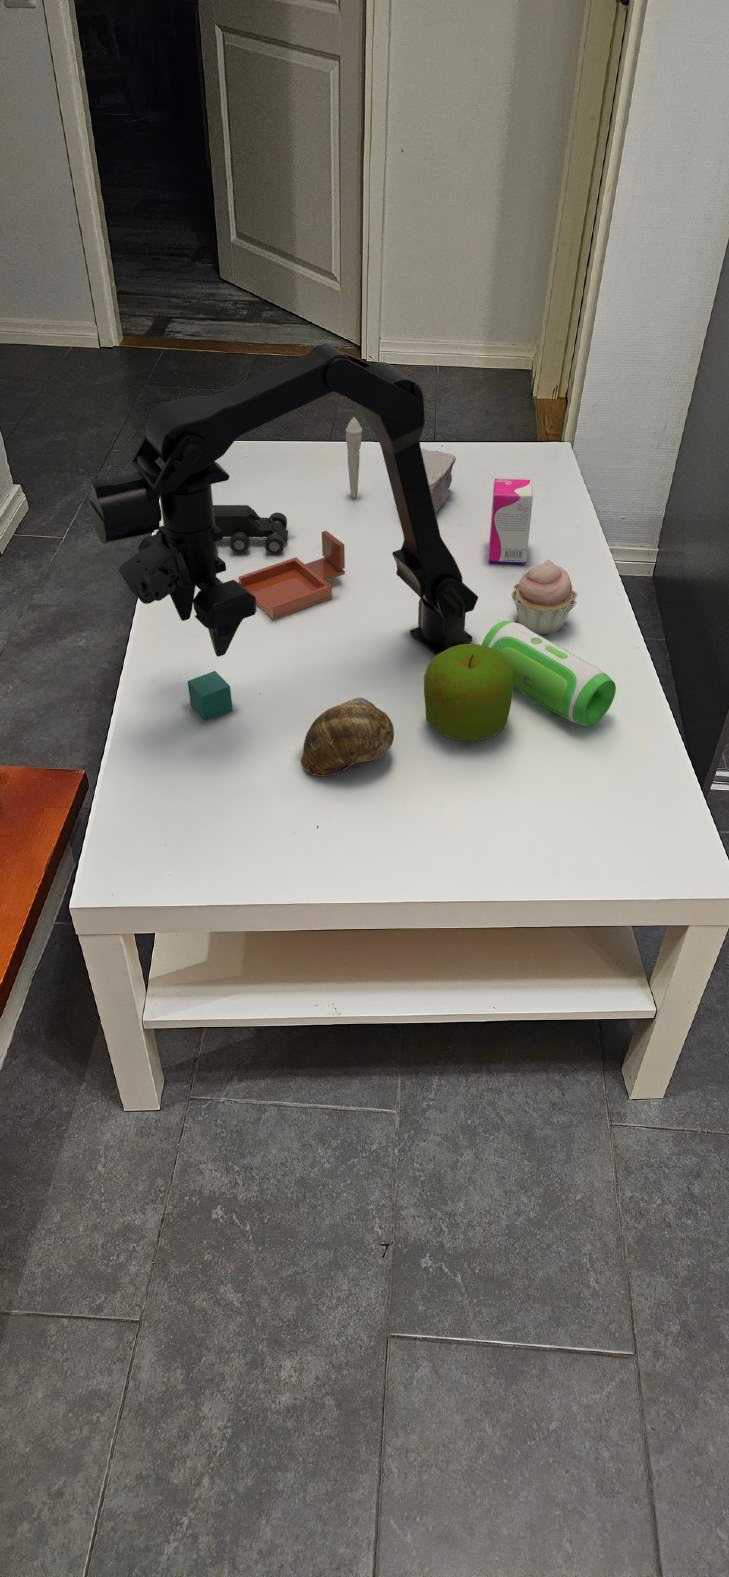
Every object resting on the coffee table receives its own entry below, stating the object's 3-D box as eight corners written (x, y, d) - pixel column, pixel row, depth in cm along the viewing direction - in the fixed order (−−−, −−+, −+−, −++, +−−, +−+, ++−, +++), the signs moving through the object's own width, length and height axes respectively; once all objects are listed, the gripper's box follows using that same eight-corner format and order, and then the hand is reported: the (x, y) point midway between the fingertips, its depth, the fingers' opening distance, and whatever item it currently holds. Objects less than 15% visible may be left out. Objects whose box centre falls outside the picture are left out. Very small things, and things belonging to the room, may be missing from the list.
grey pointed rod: (351, 492, 182) (350, 412, 172) (365, 496, 181) (365, 415, 171) (343, 498, 180) (342, 417, 171) (357, 502, 179) (356, 421, 170)
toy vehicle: (196, 528, 173) (190, 477, 167) (289, 529, 173) (286, 478, 167) (189, 555, 167) (183, 503, 161) (286, 555, 167) (283, 503, 161)
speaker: (474, 676, 143) (478, 629, 138) (511, 655, 147) (517, 608, 142) (576, 739, 134) (584, 691, 129) (613, 715, 137) (623, 667, 132)
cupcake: (569, 604, 156) (578, 543, 149) (577, 641, 149) (587, 579, 143) (504, 604, 156) (511, 543, 150) (510, 641, 149) (517, 578, 143)
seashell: (390, 732, 135) (391, 680, 129) (396, 781, 128) (397, 729, 123) (300, 735, 134) (297, 684, 129) (301, 785, 128) (298, 733, 122)
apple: (485, 690, 141) (491, 620, 134) (525, 738, 134) (534, 667, 127) (408, 710, 138) (410, 639, 131) (444, 761, 131) (448, 689, 123)
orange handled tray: (354, 590, 159) (354, 551, 155) (273, 620, 153) (270, 580, 149) (318, 561, 165) (317, 523, 161) (239, 589, 160) (235, 550, 155)
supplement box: (525, 546, 168) (533, 478, 161) (526, 566, 164) (533, 497, 156) (488, 545, 169) (494, 477, 161) (487, 564, 165) (493, 495, 157)
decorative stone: (449, 482, 185) (391, 481, 184) (453, 444, 180) (394, 443, 180) (459, 525, 174) (398, 524, 174) (463, 485, 170) (401, 485, 169)
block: (232, 711, 138) (230, 686, 135) (205, 722, 136) (202, 697, 134) (217, 695, 140) (215, 670, 138) (190, 706, 139) (187, 681, 136)
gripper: (88, 507, 123) (109, 622, 133) (160, 578, 112) (177, 698, 122) (176, 482, 128) (190, 595, 138) (254, 548, 116) (263, 666, 127)
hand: (202, 637), depth 131 cm, fingers open, 9 cm apart
